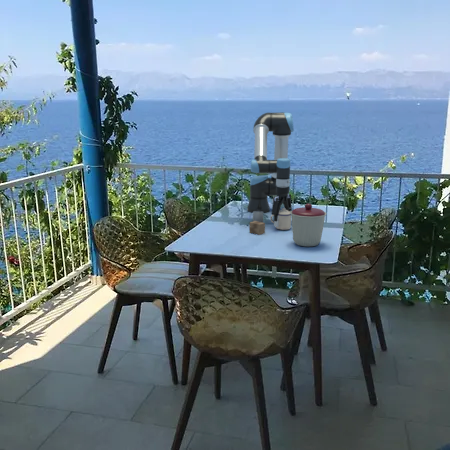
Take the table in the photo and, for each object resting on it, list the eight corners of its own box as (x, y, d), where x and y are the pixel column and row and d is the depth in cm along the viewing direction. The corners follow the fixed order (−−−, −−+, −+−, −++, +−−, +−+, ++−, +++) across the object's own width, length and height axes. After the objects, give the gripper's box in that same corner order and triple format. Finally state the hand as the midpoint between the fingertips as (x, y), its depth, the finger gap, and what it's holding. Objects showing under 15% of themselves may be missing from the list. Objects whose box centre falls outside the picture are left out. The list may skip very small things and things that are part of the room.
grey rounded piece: (250, 225, 278) (250, 212, 276) (257, 223, 283) (257, 210, 281) (258, 227, 274) (258, 213, 272) (265, 225, 279) (265, 211, 277)
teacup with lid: (292, 226, 273) (293, 206, 270) (289, 230, 264) (290, 210, 261) (271, 224, 276) (272, 205, 273) (268, 228, 268) (269, 208, 265)
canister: (300, 237, 253) (302, 198, 248) (331, 243, 242) (333, 203, 237) (282, 244, 240) (283, 204, 234) (313, 251, 228) (315, 209, 223)
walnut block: (249, 232, 262) (249, 222, 260) (255, 231, 265) (255, 220, 264) (259, 235, 257) (259, 224, 256) (264, 233, 261) (265, 223, 259)
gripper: (276, 189, 254) (275, 229, 260) (299, 184, 270) (297, 222, 275) (265, 187, 259) (264, 227, 265) (288, 183, 275) (287, 220, 280)
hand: (281, 224), depth 270 cm, fingers closed on teacup with lid, 9 cm apart
